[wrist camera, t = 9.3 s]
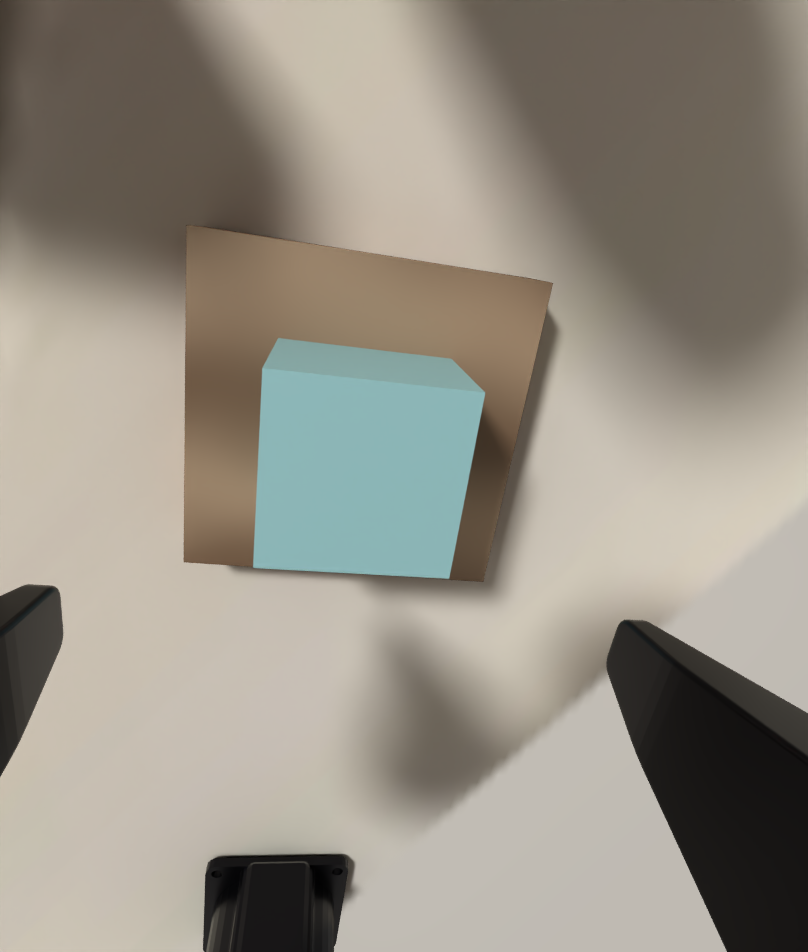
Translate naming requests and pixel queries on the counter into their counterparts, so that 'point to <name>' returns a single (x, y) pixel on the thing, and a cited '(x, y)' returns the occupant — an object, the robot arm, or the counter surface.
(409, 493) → the teal block
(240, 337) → the walnut base
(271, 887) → the robot arm
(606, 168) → the counter surface
